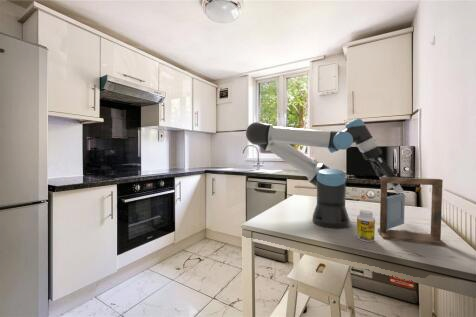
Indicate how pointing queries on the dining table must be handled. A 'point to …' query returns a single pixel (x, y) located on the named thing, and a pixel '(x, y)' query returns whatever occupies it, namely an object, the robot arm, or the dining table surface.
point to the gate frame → (435, 212)
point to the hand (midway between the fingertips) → (394, 190)
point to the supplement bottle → (365, 226)
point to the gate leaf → (395, 210)
